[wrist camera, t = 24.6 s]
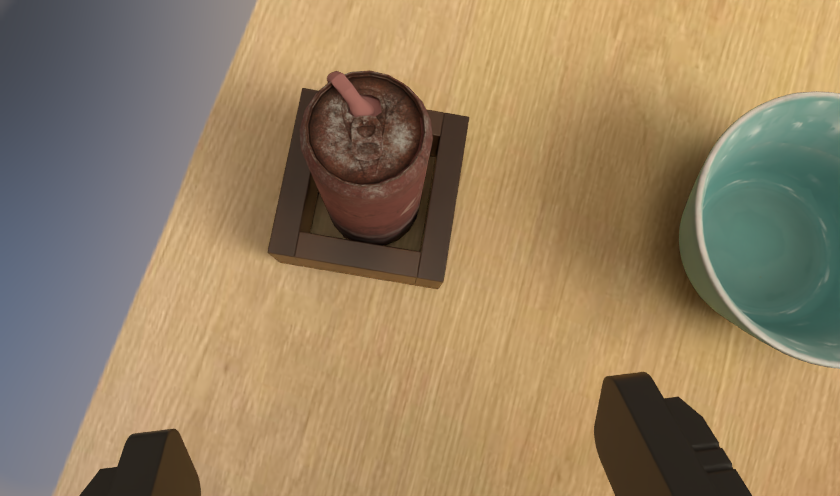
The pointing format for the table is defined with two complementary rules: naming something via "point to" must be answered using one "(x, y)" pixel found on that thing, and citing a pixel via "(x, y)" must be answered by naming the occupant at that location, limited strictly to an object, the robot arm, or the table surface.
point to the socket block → (363, 258)
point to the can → (367, 153)
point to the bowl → (772, 226)
